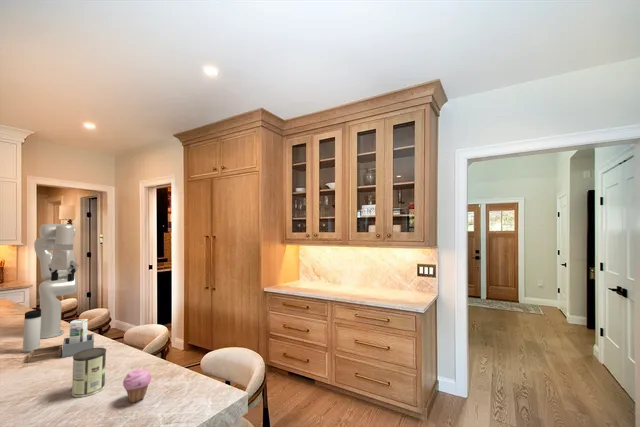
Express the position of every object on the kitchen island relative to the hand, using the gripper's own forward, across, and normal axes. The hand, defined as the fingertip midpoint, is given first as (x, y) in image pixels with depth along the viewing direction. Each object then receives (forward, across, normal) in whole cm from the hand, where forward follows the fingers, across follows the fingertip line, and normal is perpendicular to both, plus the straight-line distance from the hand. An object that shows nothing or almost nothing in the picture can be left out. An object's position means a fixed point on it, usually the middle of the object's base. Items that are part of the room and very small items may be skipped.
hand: (62, 280), depth 162 cm
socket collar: (+34, +4, -10) cm, 36 cm away
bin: (+34, +14, -3) cm, 37 cm away
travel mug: (+34, -10, -6) cm, 36 cm away
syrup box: (+34, +14, -3) cm, 36 cm away
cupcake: (+34, +75, -38) cm, 91 cm away
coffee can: (+34, +52, -35) cm, 72 cm away
